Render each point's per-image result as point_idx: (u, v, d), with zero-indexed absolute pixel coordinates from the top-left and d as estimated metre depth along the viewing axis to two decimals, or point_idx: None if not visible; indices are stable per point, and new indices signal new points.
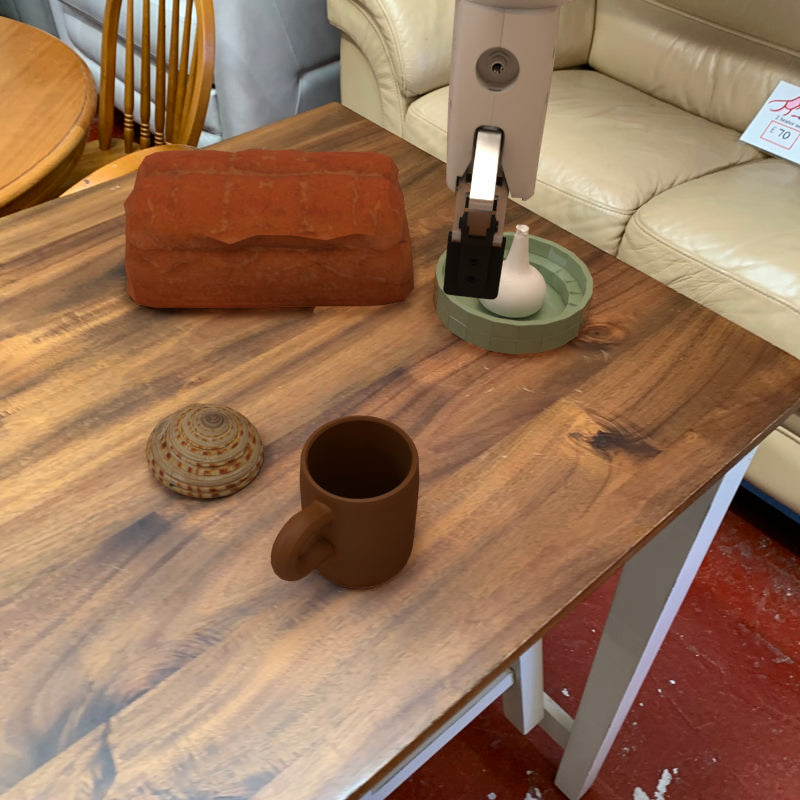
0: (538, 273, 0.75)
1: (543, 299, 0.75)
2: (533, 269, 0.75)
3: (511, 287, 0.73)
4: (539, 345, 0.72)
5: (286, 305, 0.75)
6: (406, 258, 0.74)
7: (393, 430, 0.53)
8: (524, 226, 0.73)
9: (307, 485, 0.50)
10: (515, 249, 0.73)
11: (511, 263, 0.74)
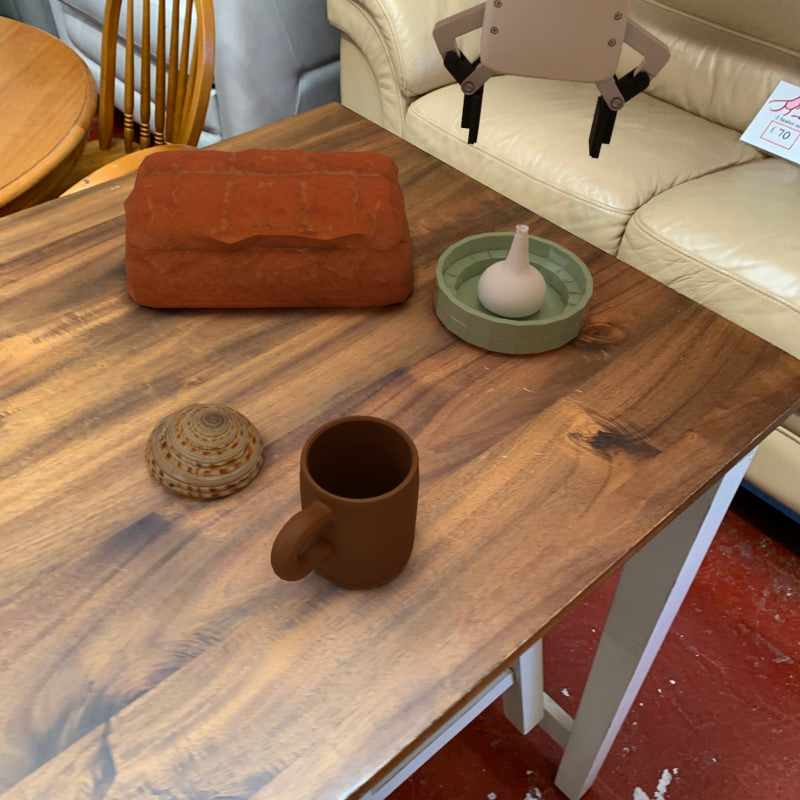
0: (538, 273, 0.75)
1: (543, 299, 0.75)
2: (533, 269, 0.75)
3: (511, 287, 0.73)
4: (539, 345, 0.72)
5: (286, 304, 0.75)
6: (406, 258, 0.74)
7: (393, 430, 0.53)
8: (524, 226, 0.73)
9: (307, 485, 0.50)
10: (515, 249, 0.73)
11: (511, 263, 0.74)
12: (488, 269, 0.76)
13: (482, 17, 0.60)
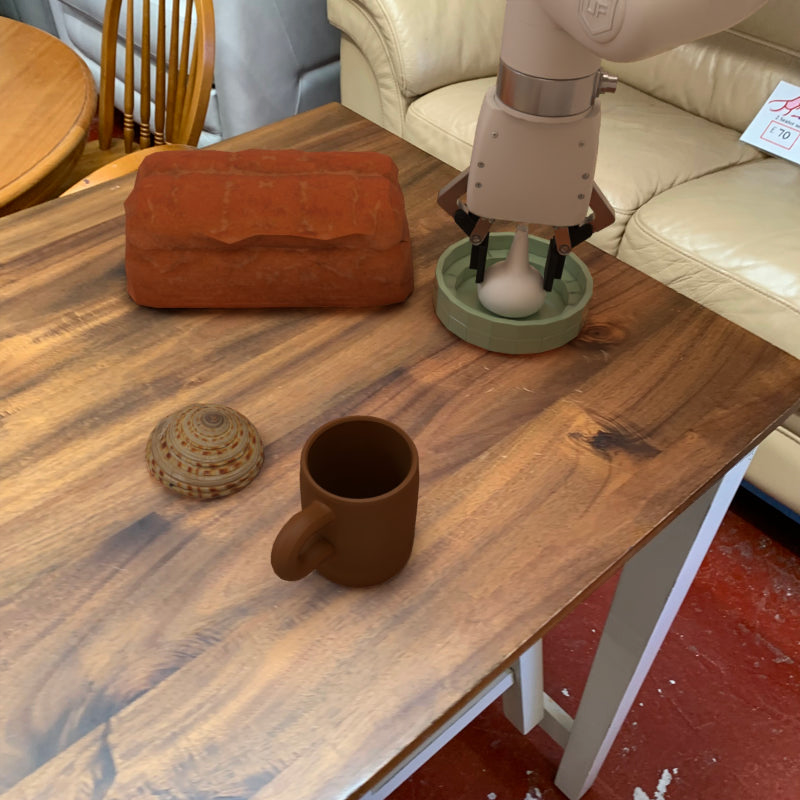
0: (538, 273, 0.75)
1: (543, 299, 0.75)
2: (533, 269, 0.75)
3: (511, 287, 0.73)
4: (539, 345, 0.72)
5: (286, 304, 0.75)
6: (406, 258, 0.74)
7: (393, 430, 0.53)
8: (524, 226, 0.73)
9: (307, 485, 0.50)
10: (515, 249, 0.73)
11: (511, 263, 0.74)
12: (488, 269, 0.76)
13: (468, 171, 0.68)
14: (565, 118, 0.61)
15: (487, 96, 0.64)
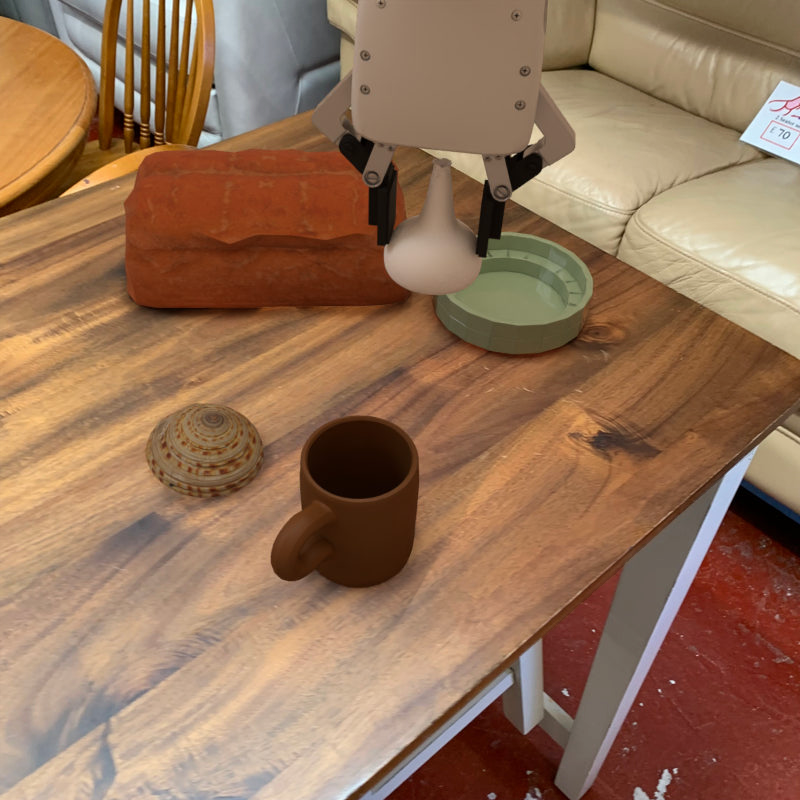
0: (469, 231, 0.52)
1: (476, 269, 0.52)
2: (462, 225, 0.52)
3: (427, 250, 0.50)
4: (539, 345, 0.72)
5: (286, 304, 0.75)
6: None
7: (393, 430, 0.53)
8: (445, 160, 0.50)
9: (307, 485, 0.50)
10: (432, 194, 0.50)
11: (427, 215, 0.51)
12: (398, 226, 0.53)
13: None
14: None
15: None
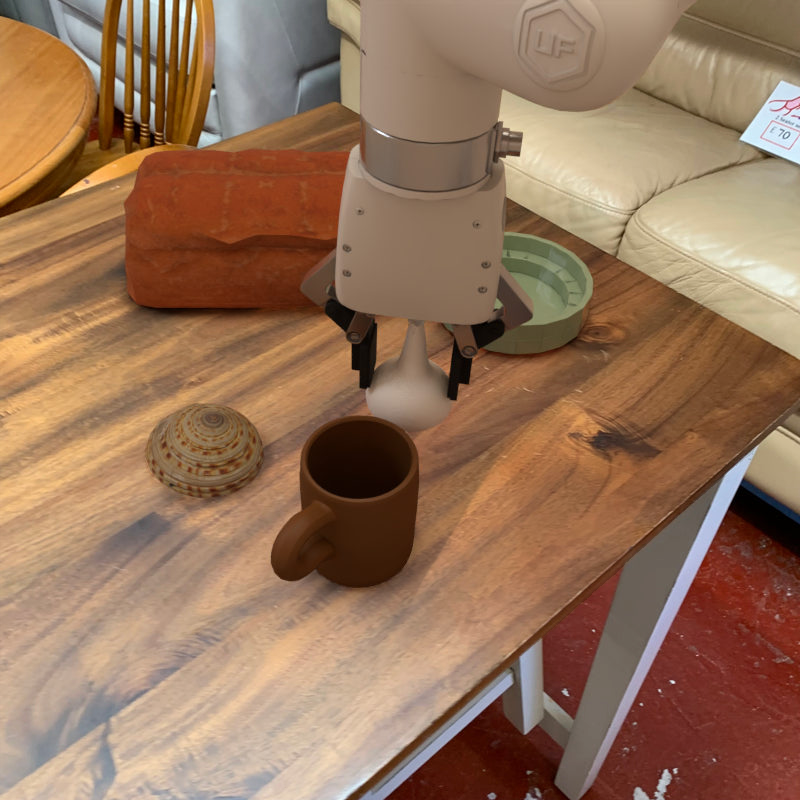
0: (442, 374, 0.58)
1: (448, 408, 0.58)
2: (435, 369, 0.58)
3: (403, 396, 0.56)
4: (539, 345, 0.72)
5: (286, 304, 0.75)
6: None
7: (393, 430, 0.53)
8: None
9: (307, 485, 0.50)
10: (408, 347, 0.56)
11: (404, 364, 0.57)
12: (378, 368, 0.59)
13: (335, 253, 0.51)
14: (448, 193, 0.44)
15: (350, 158, 0.47)
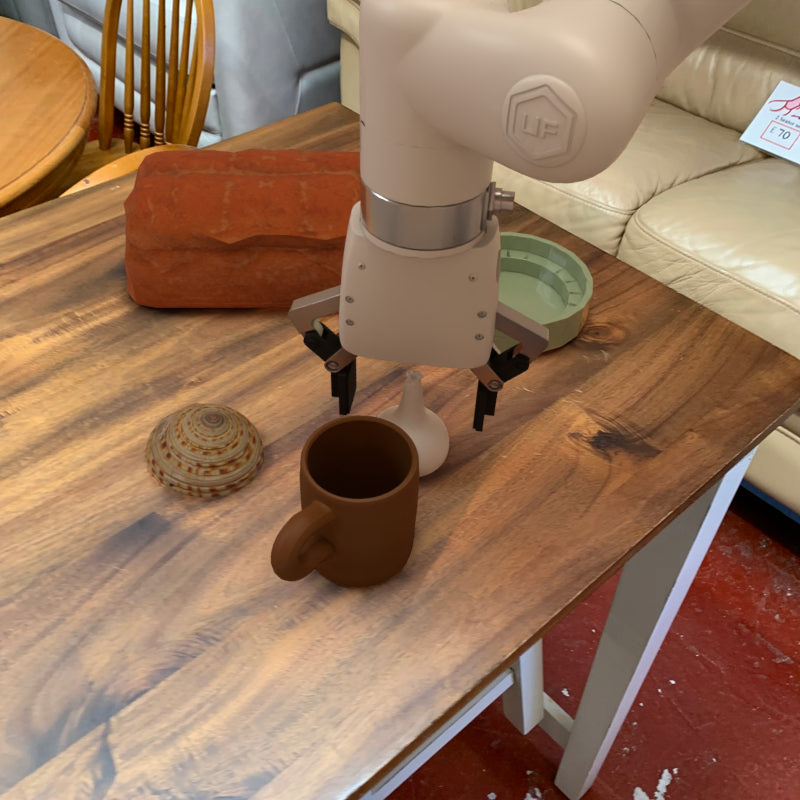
0: (438, 423, 0.62)
1: (444, 455, 0.62)
2: (431, 419, 0.62)
3: None
4: None
5: (286, 304, 0.75)
6: None
7: (393, 430, 0.53)
8: (416, 372, 0.59)
9: (307, 485, 0.50)
10: (406, 400, 0.59)
11: (402, 415, 0.60)
12: (378, 417, 0.62)
13: (339, 303, 0.54)
14: (445, 251, 0.47)
15: (352, 216, 0.50)
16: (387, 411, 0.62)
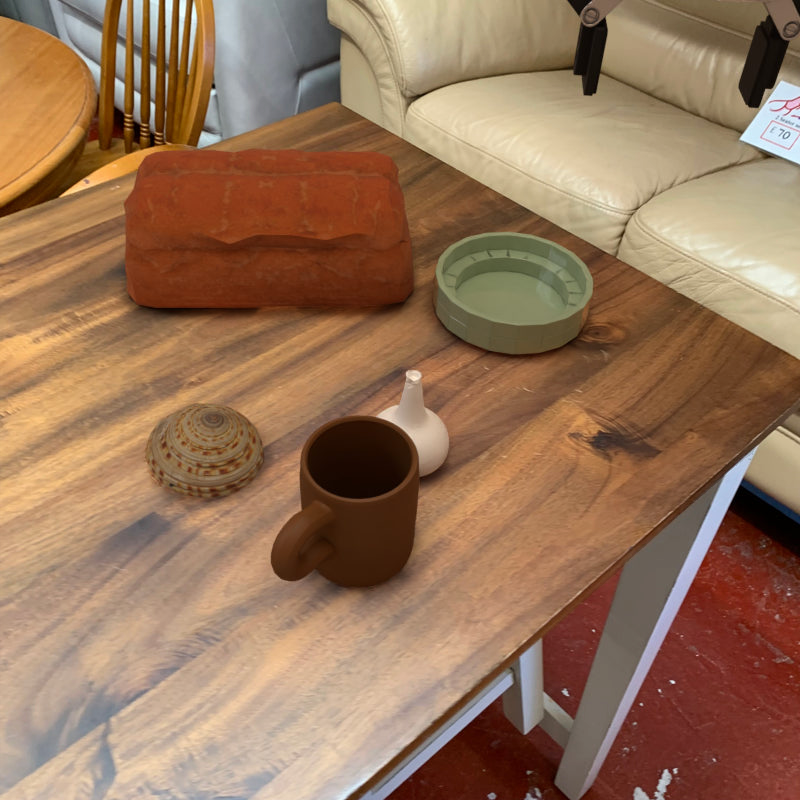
0: (438, 423, 0.62)
1: (444, 455, 0.62)
2: (432, 419, 0.62)
3: None
4: (539, 345, 0.72)
5: (286, 304, 0.75)
6: (406, 258, 0.74)
7: (393, 430, 0.53)
8: (416, 372, 0.59)
9: (307, 485, 0.50)
10: (406, 400, 0.59)
11: (402, 415, 0.60)
12: (378, 417, 0.62)
13: None
14: None
15: None
16: (387, 411, 0.62)
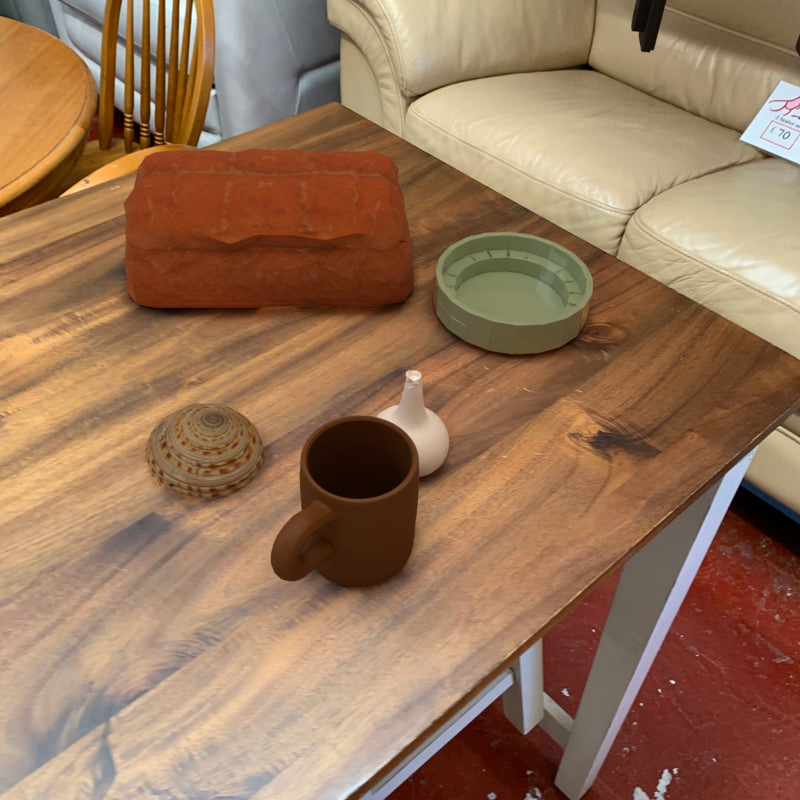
0: (438, 423, 0.62)
1: (444, 455, 0.62)
2: (432, 419, 0.62)
3: None
4: (539, 345, 0.72)
5: (286, 304, 0.75)
6: (406, 258, 0.74)
7: (393, 430, 0.53)
8: (416, 372, 0.59)
9: (307, 485, 0.50)
10: (406, 400, 0.59)
11: (402, 415, 0.60)
12: (378, 417, 0.62)
13: None
14: None
15: None
16: (387, 411, 0.62)
